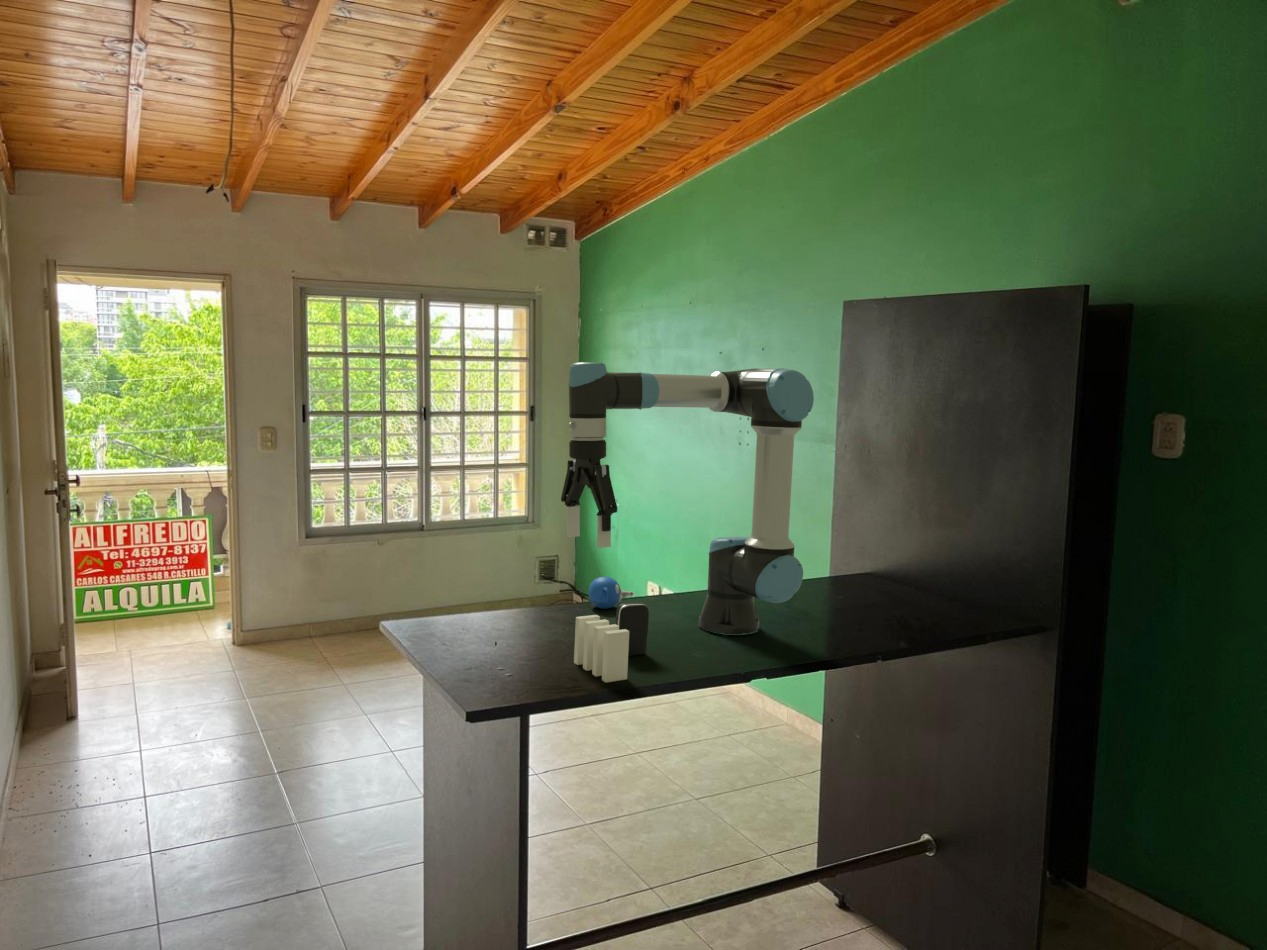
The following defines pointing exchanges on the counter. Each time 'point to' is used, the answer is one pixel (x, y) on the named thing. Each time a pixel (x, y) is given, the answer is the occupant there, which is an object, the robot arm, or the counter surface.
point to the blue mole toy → (606, 592)
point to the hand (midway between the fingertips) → (588, 541)
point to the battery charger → (634, 625)
